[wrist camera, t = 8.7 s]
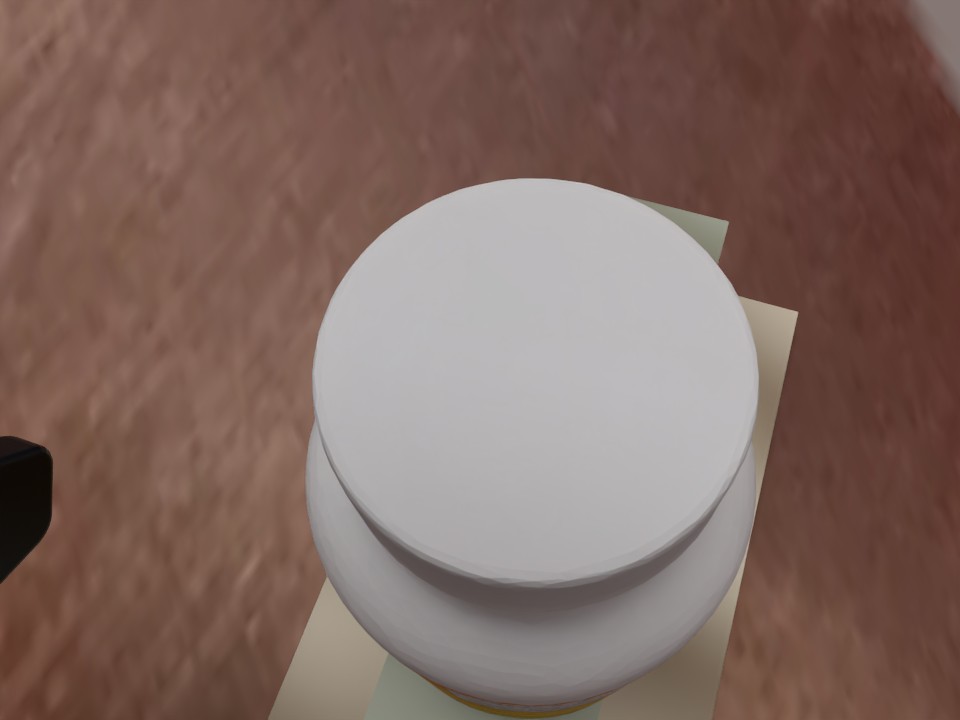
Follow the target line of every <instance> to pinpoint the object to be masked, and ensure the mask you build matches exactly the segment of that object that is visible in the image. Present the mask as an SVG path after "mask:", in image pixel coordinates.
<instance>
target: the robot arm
mask: <svg viewBox="0 0 960 720" xmlns="http://www.w3.org/2000/svg"><path fill="white" fill-rule="evenodd" d="M52 484H53V459H52V456H51V454H50V452H49V451H48V450H47V449H46V448H45V447H43V446H41V445H38V444H35V443H32V442H30V441H27V440H24V439H21V438H18V437H14V436H2V437H0V584H1V583H2V582H3V581H4V580H5V579H6V577H7V576H8V575H9V574H10V573H11V572H12V571H13V570H14V569H15V568H16V567H17V566H18V565H19V564H20V563H21V561H22V560H23V559H24V558H25V557H26V556H27V555H28V554H29V553H30V552H31V551H32V550H33V549H34V548H35V547H36V545H37V544H38V543H39V542H40V541H41V540H42V538H43V537H44V535H45V534H46V532H47V530H48V527H49V525H50V522H51V517H52Z"/></svg>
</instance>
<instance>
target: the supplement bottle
mask: <svg viewBox="0 0 960 720" xmlns="http://www.w3.org/2000/svg"><path fill="white" fill-rule="evenodd" d="M312 387H313V403H314V415H315V421H314V425H313V428H312V432H311V436H310V441H309V448H308V454H307V461H306V500H307V510H308V516H309V521H310V526H311V531H312V535H313V539H314V543H315V546H316V549H317V551H318V554H319V557H320V559H321V562H322V564H323V567H324V569H325V572H326V574H327V576H328V578H329V580H330V582H331V584H332V586H333V587H334V589H335V591H336V592H337V594H338V596H339V597H340V599H341V601H342V602H343V604H344V605H345V606H346V608H347V609H348V610H349V612H350V613H351V614H352V616H353V617H354V618H355V620H356V621H357V622H358V623H359V624H360V625H361V627H362V628H363V629H364V630H365V631H366V632H367V633H368V635H370V636H371V637H372V638H373V639H374V640H375V641H376V642H377V643H378V644H379V645H380V646H381V647H382V648H383V649H385V650H386V651H387V652H388V653H389V654H391V655H392V656H393V657H394V658H396V659H397V660H398V661H399V662H400V663H402V664H403V665H405V666H406V667H408V668H409V669H411V670H412V671H414V672H415V673H417V674H418V675H420V676H421V677H422V678H424V679H425V680H427V681H428V682H430V683H431V684H432V685H434V686H435V687H436V688H437V689H439V690H441V691H442V692H444V693H445V694H447V695H448V696H450V697H451V698H453V699H455V700H456V701H458V702H461V703H463V704H465V705H467V706H469V707H471V708H474V709H476V710H479V711H483V712H486V713H489V714H494V715H499V716H504V717H511V718H522V719H540V718H549V717H556V716H561V715H565V714H570V713H573V712H576V711H578V710H581V709H584V708H586V707H588V706H591V705H593V704H594V703H596V702H599V701H601V700H602V699H604V698H606V697H607V696H609V695H611V694H613V693H615V692H616V691H618V690H620V689H621V688H623V687H624V686H626V685H628V684H629V683H631V682H633V681H635V680H637V679H639V678H640V677H642V676H644V675H646V674H647V673H648V672H650V671H652V670H653V669H655V668H657V667H658V666H660V665H661V664H662V663H664V662H665V661H667V660H668V659H669V658H671V657H672V656H673V655H674V654H676V653H677V652H678V651H679V650H681V649H682V648H683V647H684V646H685V645H686V644H687V643H688V642H689V641H690V640H691V639H692V638H693V637H694V636H695V635H696V634H697V632H698V631H699V630H700V629H701V628H702V627H703V626H704V624H705V623H706V622H707V621H708V620H709V619H710V617H711V616H712V615H713V613H714V612H715V610H716V609H717V608H718V606H719V605H720V603H721V602H722V600H723V598H724V597H725V595H726V594H727V592H728V590H729V588H730V587H731V585H732V583H733V581H734V579H735V577H736V575H737V572H738V570H739V567H740V565H741V563H742V560H743V558H744V555H745V552H746V549H747V545H748V542H749V538H750V534H751V530H752V525H753V520H754V510H755V501H756V470H755V459H754V450H753V445H752V437H753V433H754V428H755V423H756V419H757V411H758V403H759V370H758V358H757V353H756V348H755V343H754V339H753V335H752V330H751V326H750V324H749V321H748V319H747V316H746V314H745V311H744V309H743V306H742V304H741V301H740V299H739V297H738V295H737V294H736V292H735V290H734V288H733V286H732V284H731V283H730V281H729V280H728V279H727V277H726V276H725V274H724V273H723V272H722V270H721V269H720V268H719V267H718V265H717V264H716V263H715V261H714V260H713V259H712V258H711V256H710V255H709V254H708V252H706V251H705V250H704V249H703V248H702V247H701V246H700V245H699V244H698V243H697V242H696V241H695V240H694V239H693V238H692V237H691V236H690V235H688V234H687V233H686V232H685V231H684V230H682V229H681V228H680V227H679V226H678V225H676V224H675V223H674V222H672V221H671V220H669V219H668V218H666V217H665V216H663V215H661V214H660V213H658V212H657V211H655V210H653V209H651V208H649V207H648V206H646V205H644V204H642V203H640V202H637V201H635V200H633V199H631V198H629V197H627V196H625V195H622V194H619V193H616V192H612V191H609V190H606V189H602V188H599V187H596V186H593V185H589V184H584V183H578V182H571V181H564V180H555V179H511V180H501V181H496V182H491V183H486V184H481V185H476V186H472V187H468V188H464V189H460V190H458V191H455V192H453V193H450V194H447V195H445V196H442V197H440V198H438V199H435V200H433V201H431V202H429V203H427V204H425V205H424V206H422V207H420V208H419V209H417V210H415V211H413V212H412V213H410V214H408V215H406V216H405V217H403V218H402V219H400V220H399V221H397V222H396V223H395V224H393V225H392V226H391V227H390V228H389V229H387V230H386V231H385V232H384V233H382V234H381V235H380V236H379V237H378V238H377V239H376V240H375V241H374V242H373V243H372V244H371V245H370V246H369V247H368V248H367V249H366V250H365V251H364V252H363V253H362V254H361V255H360V257H359V258H358V259H357V260H356V261H355V263H354V264H353V265H352V266H351V268H350V269H349V271H348V272H347V274H346V275H345V277H344V278H343V280H342V281H341V283H340V284H339V286H338V287H337V289H336V291H335V293H334V295H333V297H332V299H331V301H330V303H329V306H328V308H327V311H326V313H325V316H324V319H323V321H322V324H321V327H320V330H319V334H318V339H317V345H316V350H315V356H314V363H313V370H312Z"/></svg>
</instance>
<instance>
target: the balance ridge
mask: <svg viewBox="0 0 960 720" xmlns="http://www.w3.org/2000/svg"><path fill="white" fill-rule="evenodd" d="M627 197H628V196H627ZM629 198H631V199H633V200H635V201H637V202H640V203H642V204H644V205H646V206H648V207H649V208H651V209H653V210H655V211H657V212H658V213H660V214H661V215H663V216H665V217H666V218H668V219H669V220H671V221H672V222H674V223H675V224H676V225H678V226H679V227H680V228H681V229H682V230H684V231H685V232H686V233H687V234H688V235H690V236H691V237H692V238H693V239H694V240H695V241H696V242H697V243H698V244H699V245H700V246H701V247H702V248H703V249H704V250H705V251H706V252H708V254H709V255H710V256H711V258H712V259H713V260H714V261H715V263H716V264H717V265H718V262H719V258H720V254H721V250H722V246H723V243H724V239H725V235H726V231H727V228H728V224H729V222H728V221H724V220H720V219H716V218H712V217H708V216H704V215H700V214H696V213H692V212H688V211H684V210H680V209H676V208H672V207H668V206H664V205H660V204H656V203H652V202H648V201H644V200H640V199H636V198H632V197H629ZM738 297H739V296H738ZM739 299H740V301H741V304H742V306H743V309H744V311H745V314H746V316H747V319H748V321H749V324H750V326H751V330H752V335H753V339H754V343H755V348H756V353H757V358H758V370H759V403H758V411H757V419H756V423H755V428H754V433H753V437H752V445H753V450H754V459H755V470H756V501H755V510H754V518H755V513H756V509H757V504H758V499H759V494H760V490H761V485H762V480H763V476H764V471H765V466H766V461H767V457H768V452H769V447H770V443H771V438H772V433H773V428H774V424H775V419H776V414H777V410H778V405H779V400H780V395H781V391H782V386H783V381H784V377H785V372H786V367H787V362H788V358H789V353H790V348H791V344H792V339H793V334H794V329H795V325H796V320H797V315H798V312H796V311H792V310H788V309H784V308H781V307H777V306H773V305H769V304H766V303H762V302H758V301H754V300H751V299H747V298H743V297H739ZM753 523H754V520H753ZM752 527H753V525H752ZM751 532H752V530H751ZM750 537H751V534H750ZM749 542H750V538H749ZM749 542H748V545H747V549H746V552H745V555H744V558H743V560H742V563H741V565H740V567H739V570H738V572H737V575H736V577H735V579H734V581H733V583H732V585H731V587H730V588H729V590H728V592H727V594H726V595H725V597H724V598H723V600H722V602H721V603H720V605H719V606H718V608H717V609H716V610H715V612H714V613H713V615H712V616H711V617H710V619H709V620H708V621H707V622H706V623H705V624H704V626H703V627H702V628H701V629H700V630H699V631H698V632H697V634H696V635H695V636H694V637H693V638H692V639H691V640H690V641H689V642H688V643H687V644H686V645H685V646H684V647H683V648H682V649H681V650H679V651H678V652H677V653H676V654H674V655H673V656H672V657H671V658H669V659H668V660H667V661H665V662H664V663H662V664H661V665H660V666H658V667H657V668H655V669H653V670H652V671H650V672H648V673H647V674H646V675H644V676H642V677H640V678H639V679H637V680H635V681H633V682H631V683H629V684H628V685H626V686H624V687H623V688H621V689H620V690H618V691H616V692H615V693H613V694H611V695H609V696H607V697H606V698H604V699H602V700H601V701H599V702H596V703H594V704H593V705H591V706H588V707H586V708H584V709H581V710H578V711H576V712H573V713H570V714H565V715H561V716H556V717H549V718H540V719H522V718H511V717H504V716H499V715H494V714H489V713H486V712H483V711H479V710H476V709H474V708H471V707H469V706H467V705H465V704H463V703H461V702H458V701H456V700H455V699H453V698H451V697H450V696H448V695H447V694H445V693H444V692H442V691H441V690H439V689H437V688H436V687H435V686H434V685H432V684H431V683H430V682H428V681H427V680H425V679H424V678H422V677H421V676H420V675H418V674H417V673H415V672H414V671H412V670H411V669H409V668H408V667H406V666H405V665H403V664H402V663H400V662H399V661H398V660H397V659H396V658H394V657H393V656H392V655H391V654H389V653H388V652H387V651H386V650H385V649H383V648H382V647H381V646H380V645H379V644H378V643H377V642H376V641H375V640H374V639H373V638H372V637H371V636H370V635H368V633H367V632H366V631H365V630H364V629H363V628H362V627H361V625H360V624H359V623H358V622H357V621H356V620H355V618H354V617H353V616H352V614H351V613H350V612H349V610H348V609H347V608H346V606H345V605H344V604H343V602H342V601H341V599H340V597H339V596H338V594H337V592H336V591H335V589H334V587H333V586H332V584H331V582H330V580H329V578H328V576H327V578H326V580H325V583H324V585H323V587H322V590H321V592H320V595H319V597H318V600H317V602H316V604H315V607H314V609H313V612H312V614H311V616H310V619H309V621H308V624H307V626H306V628H305V631H304V633H303V636H302V638H301V640H300V643H299V645H298V648H297V650H296V652H295V655H294V657H293V660H292V662H291V665H290V667H289V669H288V672H287V674H286V677H285V679H284V681H283V684H282V686H281V689H280V691H279V693H278V696H277V698H276V701H275V703H274V705H273V708H272V710H271V713H270V715H269V717H268V720H712V716H713V711H714V707H715V702H716V697H717V692H718V688H719V683H720V678H721V674H722V669H723V664H724V659H725V655H726V650H727V645H728V641H729V636H730V631H731V626H732V622H733V617H734V612H735V608H736V603H737V598H738V593H739V589H740V584H741V579H742V575H743V570H744V565H745V560H746V556H747V551H748V546H749Z"/></svg>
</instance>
